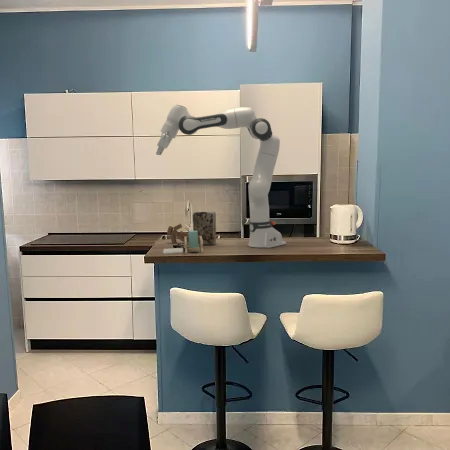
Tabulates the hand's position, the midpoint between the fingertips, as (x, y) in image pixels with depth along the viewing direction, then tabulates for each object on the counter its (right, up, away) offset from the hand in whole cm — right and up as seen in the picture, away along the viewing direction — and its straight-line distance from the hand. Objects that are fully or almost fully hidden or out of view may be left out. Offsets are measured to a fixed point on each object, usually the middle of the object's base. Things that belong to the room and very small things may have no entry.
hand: (158, 154), depth 268 cm
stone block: (+26, -51, +19) cm, 60 cm away
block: (+20, -52, +1) cm, 55 cm away
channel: (+20, -54, +1) cm, 57 cm away
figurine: (+9, -51, +27) cm, 58 cm away
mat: (+8, -54, +1) cm, 55 cm away
